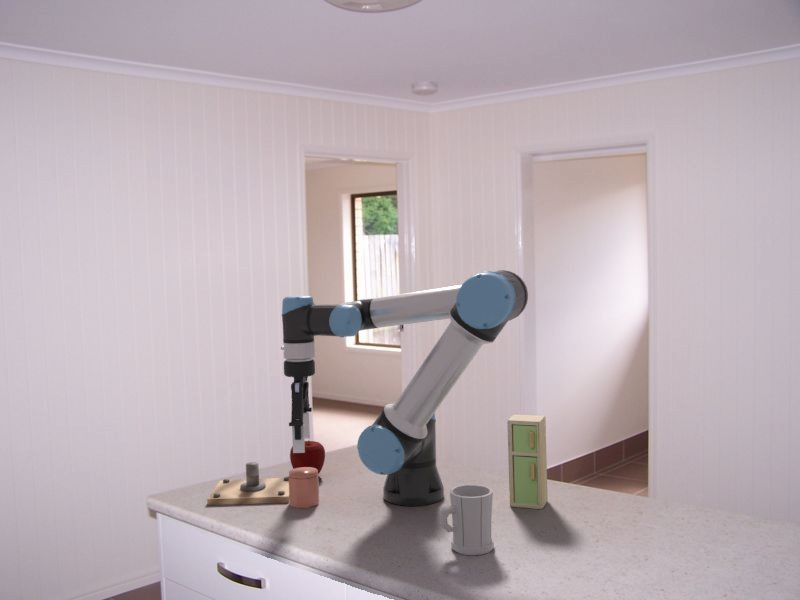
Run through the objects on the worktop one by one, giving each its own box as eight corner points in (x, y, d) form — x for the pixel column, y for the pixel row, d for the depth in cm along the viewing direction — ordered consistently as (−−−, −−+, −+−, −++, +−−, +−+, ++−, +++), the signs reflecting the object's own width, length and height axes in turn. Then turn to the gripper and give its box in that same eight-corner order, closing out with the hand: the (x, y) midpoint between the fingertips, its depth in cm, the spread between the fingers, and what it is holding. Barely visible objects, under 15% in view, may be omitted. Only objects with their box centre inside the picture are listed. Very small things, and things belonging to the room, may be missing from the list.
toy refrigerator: (507, 507, 185) (506, 420, 183) (515, 498, 192) (513, 413, 190) (541, 511, 182) (540, 422, 180) (547, 501, 189) (546, 415, 187)
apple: (323, 481, 209) (322, 445, 209) (288, 482, 209) (286, 446, 209) (327, 471, 219) (326, 436, 218) (293, 472, 219) (292, 437, 218)
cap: (319, 497, 196) (318, 466, 195) (317, 507, 189) (316, 474, 188) (291, 499, 196) (290, 467, 195) (288, 508, 189) (287, 475, 188)
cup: (478, 562, 153) (477, 502, 153) (438, 553, 158) (436, 495, 157) (501, 544, 162) (500, 487, 162) (462, 536, 167) (461, 481, 166)
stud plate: (295, 482, 209) (294, 454, 209) (288, 502, 193) (287, 471, 193) (220, 485, 209) (219, 456, 208) (207, 505, 193) (206, 474, 192)
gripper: (289, 352, 202) (291, 433, 204) (277, 367, 177) (279, 459, 179) (318, 351, 202) (320, 432, 204) (310, 366, 177) (312, 458, 179)
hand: (301, 445), depth 191 cm, fingers open, 13 cm apart
